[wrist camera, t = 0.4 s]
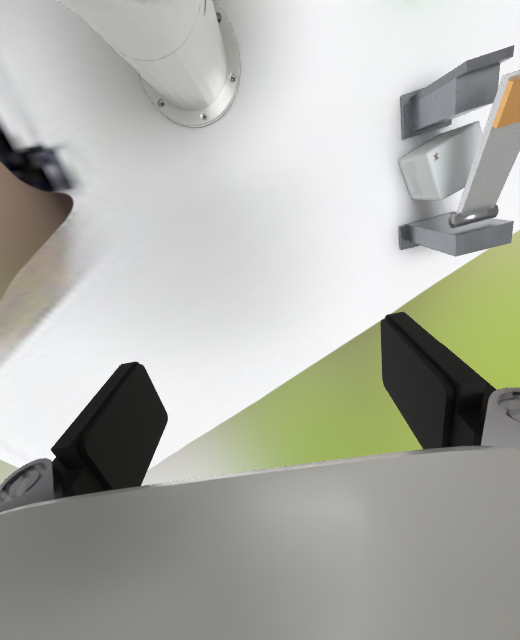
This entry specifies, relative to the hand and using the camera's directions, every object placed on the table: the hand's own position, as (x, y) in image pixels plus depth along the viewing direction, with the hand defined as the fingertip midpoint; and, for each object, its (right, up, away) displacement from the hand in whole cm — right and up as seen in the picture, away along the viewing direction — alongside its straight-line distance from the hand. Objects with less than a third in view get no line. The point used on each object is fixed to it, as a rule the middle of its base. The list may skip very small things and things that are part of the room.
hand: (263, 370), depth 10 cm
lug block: (+21, +29, +25) cm, 44 cm away
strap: (+23, +18, +17) cm, 34 cm away
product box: (+23, +24, +28) cm, 43 cm away
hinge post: (+25, +16, +31) cm, 43 cm away
